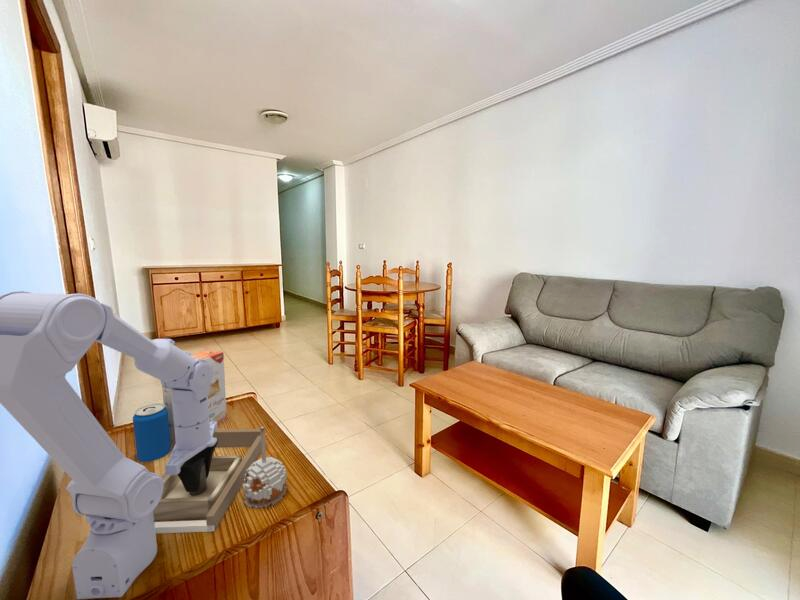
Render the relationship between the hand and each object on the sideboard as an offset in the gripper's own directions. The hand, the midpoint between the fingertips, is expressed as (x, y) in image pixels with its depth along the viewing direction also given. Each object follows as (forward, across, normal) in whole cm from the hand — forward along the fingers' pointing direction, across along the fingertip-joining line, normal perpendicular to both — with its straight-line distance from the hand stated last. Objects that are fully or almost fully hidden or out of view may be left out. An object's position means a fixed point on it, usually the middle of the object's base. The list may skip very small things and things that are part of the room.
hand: (197, 483), depth 65 cm
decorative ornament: (+3, 0, -13) cm, 14 cm away
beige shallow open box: (+2, 0, 0) cm, 2 cm away
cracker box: (+3, +24, +12) cm, 27 cm away
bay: (+3, +4, 0) cm, 5 cm away
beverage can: (+3, +14, +17) cm, 22 cm away
